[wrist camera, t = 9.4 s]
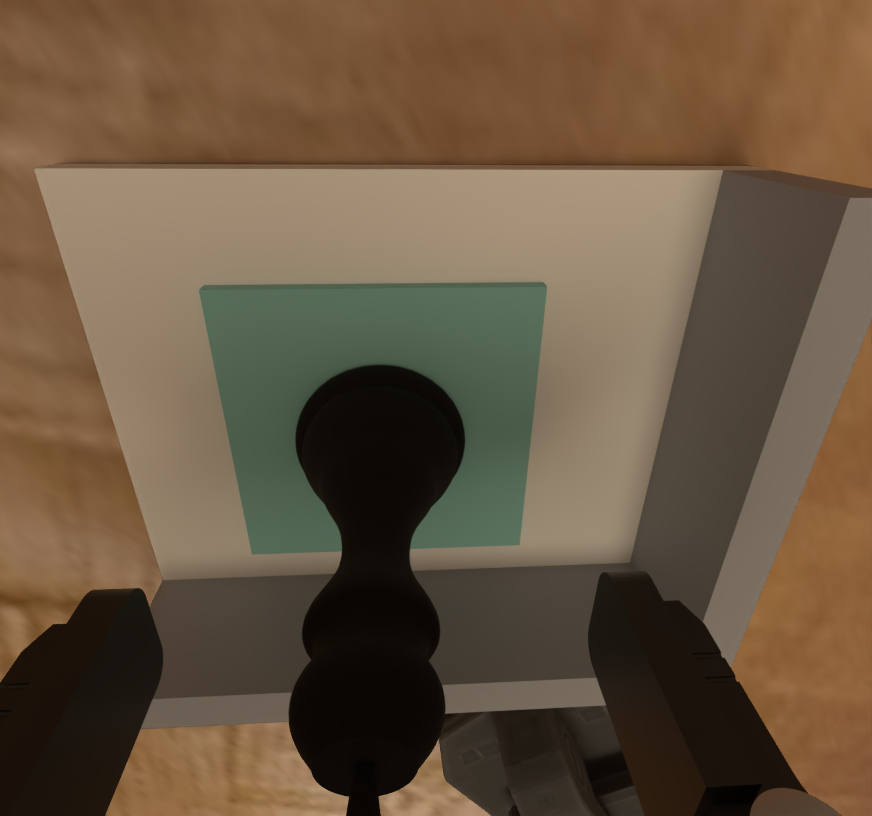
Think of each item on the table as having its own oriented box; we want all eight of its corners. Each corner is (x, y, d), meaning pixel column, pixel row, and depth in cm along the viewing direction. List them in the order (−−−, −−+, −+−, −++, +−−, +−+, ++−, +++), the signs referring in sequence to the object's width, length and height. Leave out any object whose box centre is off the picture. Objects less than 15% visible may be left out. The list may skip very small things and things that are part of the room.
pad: (254, 545, 17) (251, 554, 16) (203, 285, 13) (198, 290, 13) (517, 536, 17) (519, 545, 17) (543, 282, 13) (547, 287, 13)
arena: (182, 583, 19) (116, 730, 14) (59, 163, 12) (-123, 197, 8) (646, 566, 20) (717, 699, 15) (750, 166, 13) (920, 198, 9)
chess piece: (479, 375, 14) (613, 824, 5) (447, 512, 16) (505, 997, 7) (302, 351, 14) (127, 811, 5) (292, 496, 16) (156, 1004, 7)
